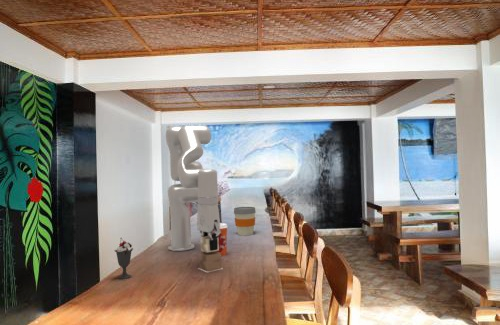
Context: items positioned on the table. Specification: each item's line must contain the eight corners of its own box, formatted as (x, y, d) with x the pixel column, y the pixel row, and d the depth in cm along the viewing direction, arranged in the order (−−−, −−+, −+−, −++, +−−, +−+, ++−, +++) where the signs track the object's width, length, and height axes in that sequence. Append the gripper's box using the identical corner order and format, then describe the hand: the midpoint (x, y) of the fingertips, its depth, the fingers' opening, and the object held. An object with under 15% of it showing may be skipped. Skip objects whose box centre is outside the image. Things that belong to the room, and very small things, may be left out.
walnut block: (199, 268, 144) (199, 252, 144) (213, 265, 147) (212, 250, 147) (207, 271, 139) (207, 255, 139) (221, 268, 142) (220, 252, 142)
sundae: (116, 280, 134) (115, 239, 134) (114, 276, 140) (112, 236, 140) (135, 277, 137) (134, 236, 137) (132, 273, 143) (130, 234, 143)
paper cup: (226, 258, 161) (225, 225, 161) (209, 257, 163) (208, 225, 163) (230, 253, 169) (229, 222, 169) (214, 253, 170) (213, 222, 170)
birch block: (200, 250, 144) (200, 237, 144) (212, 248, 147) (211, 235, 147) (207, 252, 140) (207, 239, 140) (218, 250, 143) (218, 237, 143)
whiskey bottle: (202, 231, 228) (201, 179, 228) (207, 228, 238) (205, 178, 238) (219, 231, 226) (217, 178, 226) (223, 228, 236) (221, 177, 236)
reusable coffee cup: (256, 235, 208) (255, 208, 209) (234, 236, 209) (233, 209, 209) (256, 231, 221) (255, 206, 221) (235, 232, 221) (234, 207, 221)
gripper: (189, 201, 148) (190, 247, 148) (211, 203, 134) (213, 254, 134) (205, 199, 152) (207, 244, 152) (228, 202, 139) (230, 250, 139)
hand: (209, 248), depth 143 cm, fingers closed on birch block, 5 cm apart
